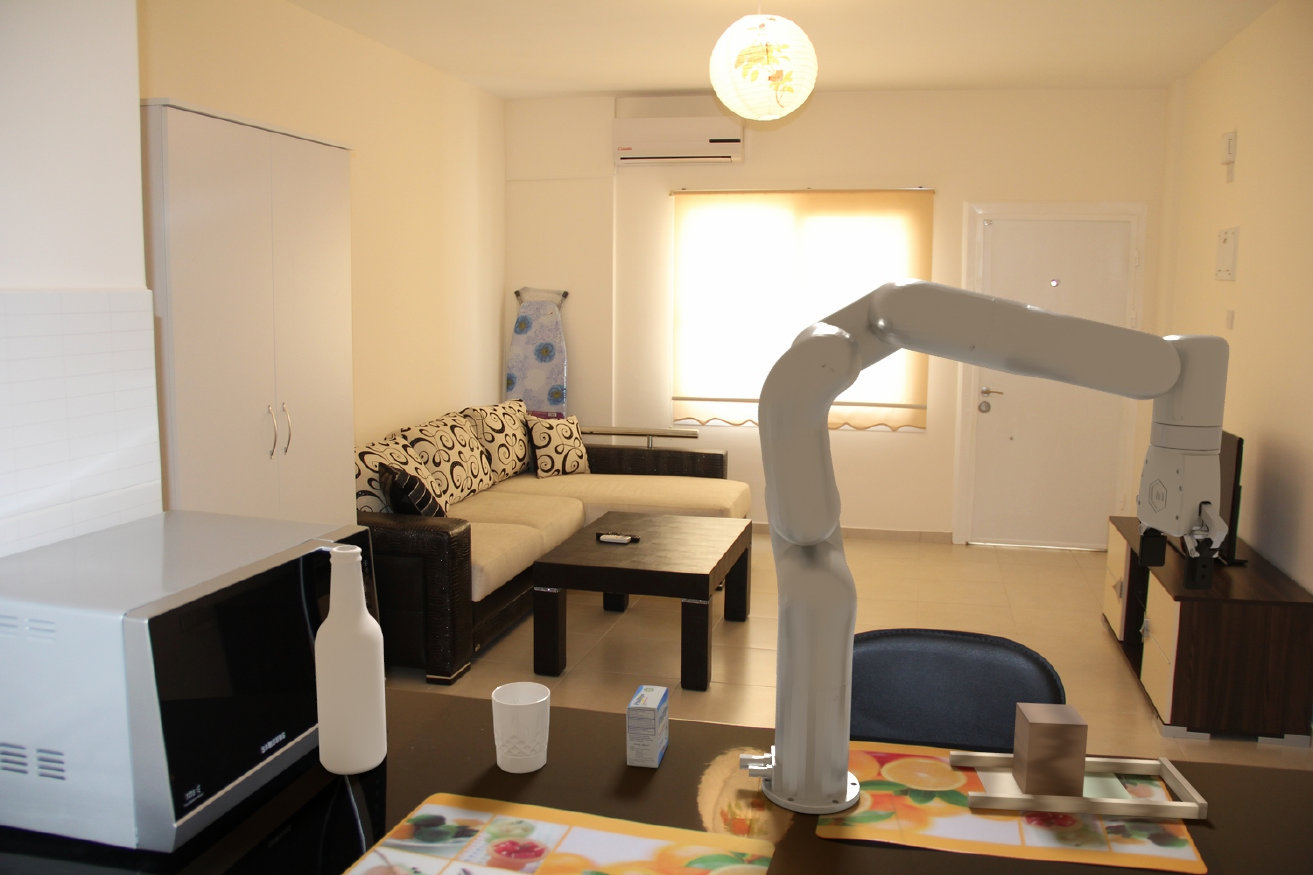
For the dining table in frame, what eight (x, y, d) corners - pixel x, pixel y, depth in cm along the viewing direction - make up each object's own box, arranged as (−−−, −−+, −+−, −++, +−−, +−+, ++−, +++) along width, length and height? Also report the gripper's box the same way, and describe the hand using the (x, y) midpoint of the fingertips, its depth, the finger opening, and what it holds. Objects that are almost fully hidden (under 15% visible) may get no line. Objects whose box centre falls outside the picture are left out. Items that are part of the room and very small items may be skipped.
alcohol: (307, 771, 133) (296, 554, 128) (342, 743, 141) (334, 538, 137) (366, 779, 131) (358, 559, 126) (398, 750, 139) (391, 542, 135)
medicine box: (657, 769, 134) (658, 708, 133) (625, 766, 135) (626, 705, 134) (668, 743, 142) (669, 686, 141) (638, 740, 143) (638, 683, 141)
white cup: (562, 758, 137) (561, 689, 136) (525, 781, 131) (524, 709, 129) (518, 744, 141) (517, 677, 140) (480, 766, 135) (479, 696, 133)
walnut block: (1024, 797, 124) (1029, 722, 123) (1012, 774, 130) (1016, 702, 129) (1082, 800, 124) (1088, 724, 122) (1067, 777, 130) (1072, 704, 128)
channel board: (968, 818, 122) (969, 791, 122) (948, 771, 134) (949, 747, 133) (1205, 830, 120) (1207, 803, 119) (1163, 782, 132) (1165, 757, 131)
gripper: (1117, 428, 127) (1107, 558, 129) (1197, 449, 110) (1184, 598, 112) (1174, 428, 127) (1163, 558, 129) (1263, 449, 110) (1248, 598, 112)
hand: (1173, 576), depth 121 cm, fingers open, 9 cm apart
